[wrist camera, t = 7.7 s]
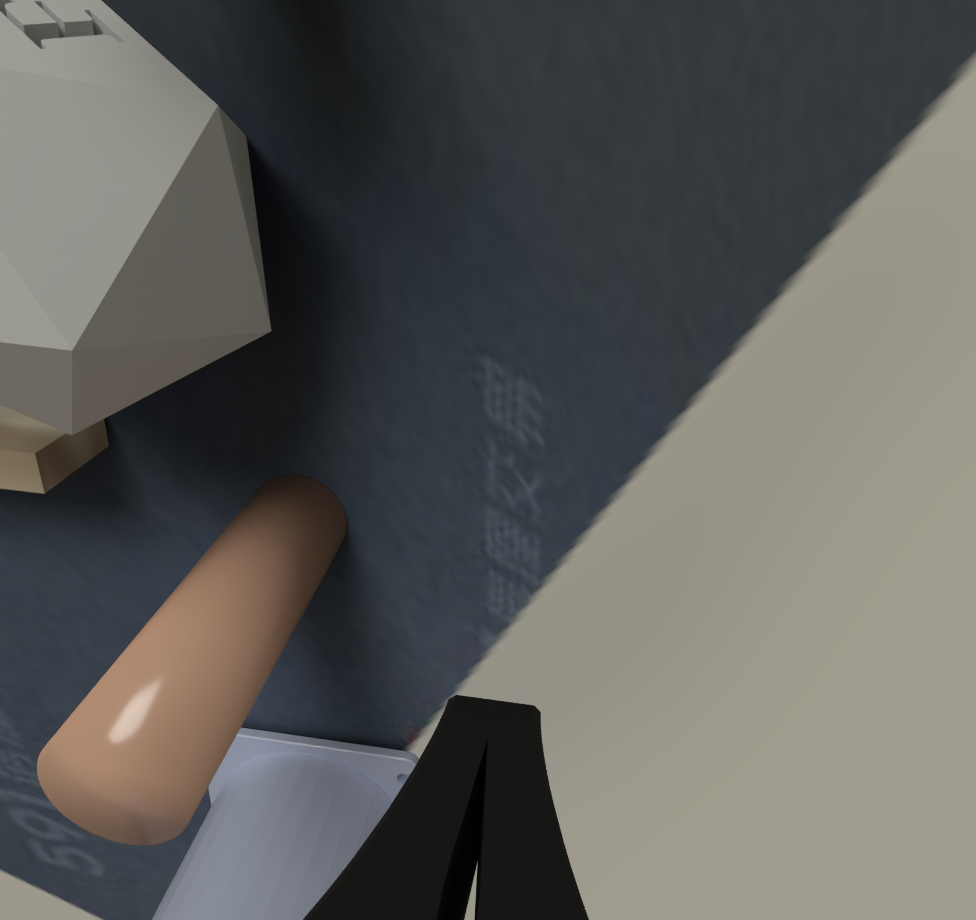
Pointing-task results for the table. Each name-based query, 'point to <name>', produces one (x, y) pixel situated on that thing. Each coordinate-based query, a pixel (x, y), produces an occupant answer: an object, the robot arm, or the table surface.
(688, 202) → the table surface
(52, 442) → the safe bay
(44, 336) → the die
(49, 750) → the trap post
